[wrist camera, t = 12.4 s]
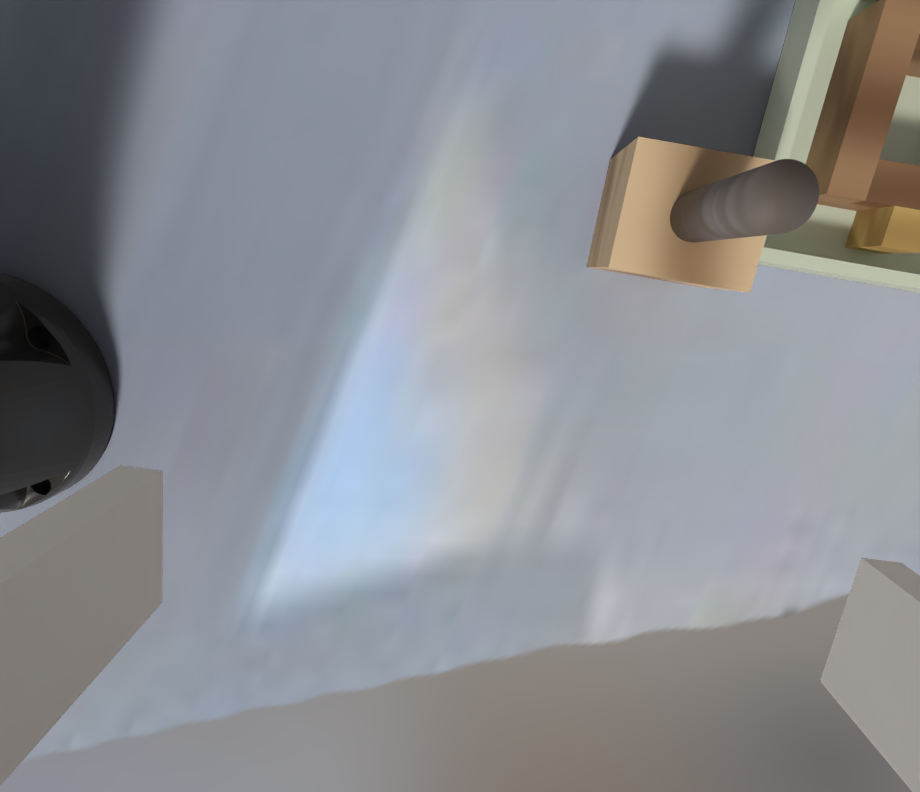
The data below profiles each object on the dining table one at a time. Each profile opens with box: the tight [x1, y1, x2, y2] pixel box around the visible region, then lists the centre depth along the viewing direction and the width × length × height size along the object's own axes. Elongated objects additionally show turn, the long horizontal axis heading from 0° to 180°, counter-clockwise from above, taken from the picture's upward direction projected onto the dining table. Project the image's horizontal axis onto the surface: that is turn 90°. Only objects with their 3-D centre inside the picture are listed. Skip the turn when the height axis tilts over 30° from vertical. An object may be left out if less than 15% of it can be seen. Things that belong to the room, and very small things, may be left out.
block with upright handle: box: [587, 137, 819, 292], centre depth 26 cm, size 7×6×14 cm
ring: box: [806, 0, 920, 254], centre depth 29 cm, size 11×9×3 cm
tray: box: [753, 0, 920, 293], centre depth 30 cm, size 14×14×3 cm
